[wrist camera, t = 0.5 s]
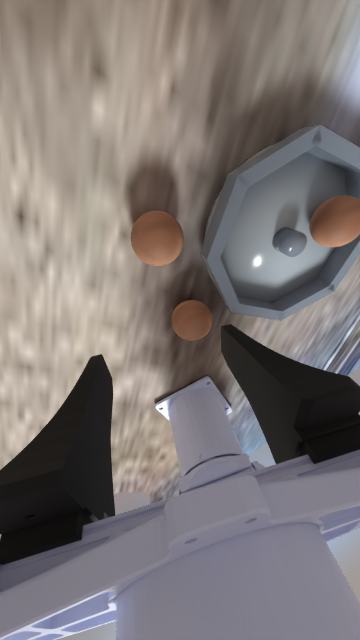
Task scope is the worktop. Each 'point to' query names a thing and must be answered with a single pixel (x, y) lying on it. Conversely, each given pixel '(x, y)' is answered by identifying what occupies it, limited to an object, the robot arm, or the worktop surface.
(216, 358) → the worktop surface
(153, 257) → the bead
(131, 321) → the worktop surface
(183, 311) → the bead
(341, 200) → the bead seated
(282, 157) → the groove tray
